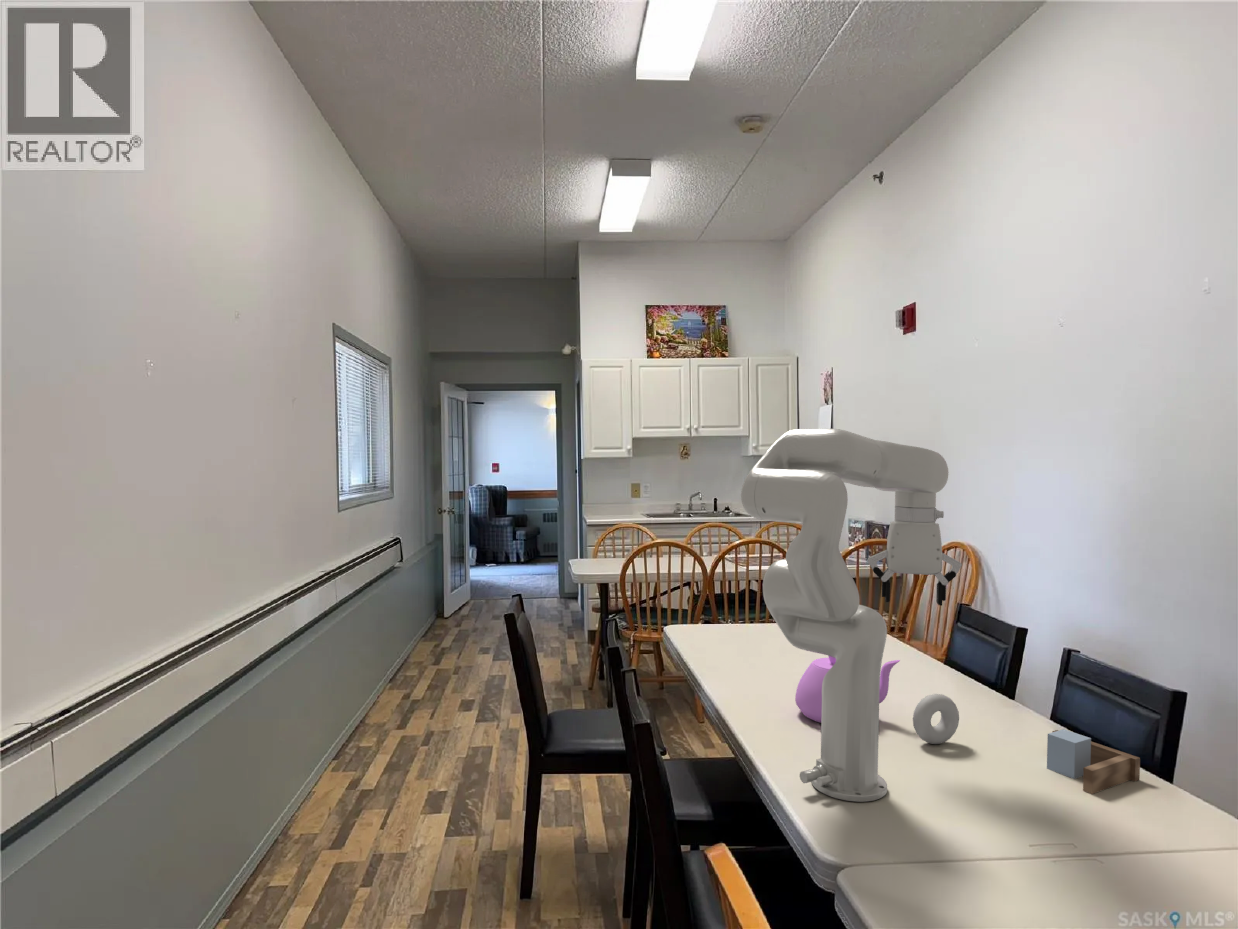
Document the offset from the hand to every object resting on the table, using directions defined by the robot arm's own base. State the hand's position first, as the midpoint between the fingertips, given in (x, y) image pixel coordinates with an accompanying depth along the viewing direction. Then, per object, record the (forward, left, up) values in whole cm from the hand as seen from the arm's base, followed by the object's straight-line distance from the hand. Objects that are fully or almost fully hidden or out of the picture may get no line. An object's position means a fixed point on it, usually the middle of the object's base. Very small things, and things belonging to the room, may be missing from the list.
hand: (913, 602), depth 150 cm
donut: (+5, -2, -28) cm, 29 cm away
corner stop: (+17, -23, -28) cm, 40 cm away
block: (+16, -22, -28) cm, 39 cm away
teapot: (0, +17, -29) cm, 33 cm away
